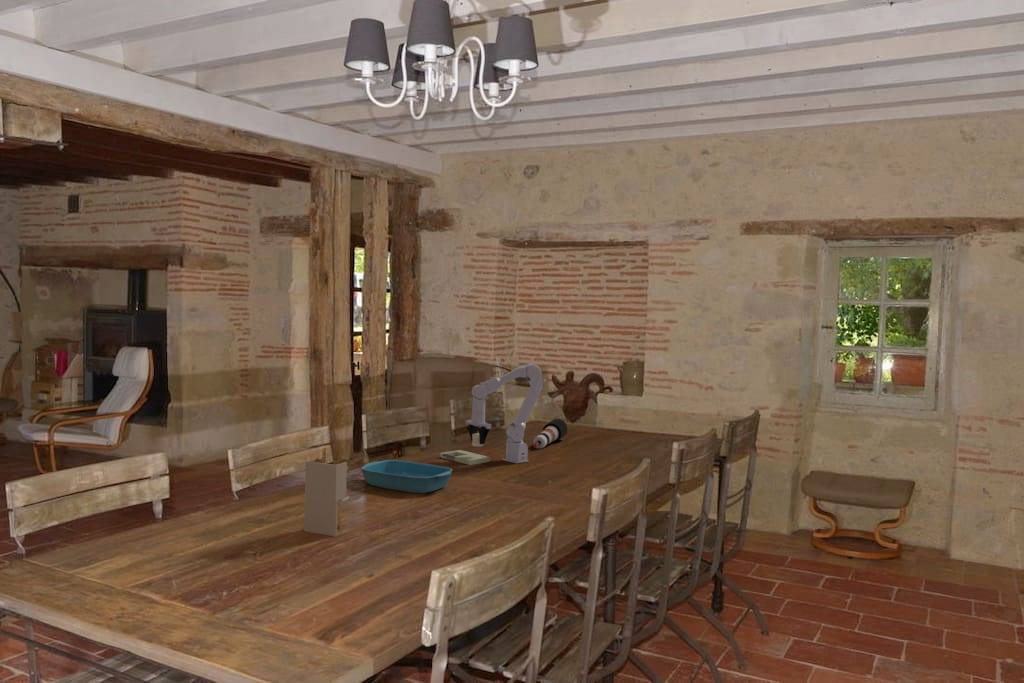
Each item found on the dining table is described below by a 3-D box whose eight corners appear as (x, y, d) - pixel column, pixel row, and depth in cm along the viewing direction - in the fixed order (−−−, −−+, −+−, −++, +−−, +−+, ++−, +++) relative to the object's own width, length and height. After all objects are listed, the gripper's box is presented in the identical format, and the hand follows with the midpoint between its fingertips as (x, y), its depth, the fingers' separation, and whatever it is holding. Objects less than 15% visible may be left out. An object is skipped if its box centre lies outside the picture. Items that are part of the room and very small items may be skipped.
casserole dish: (349, 484, 307) (349, 466, 306) (385, 474, 326) (386, 456, 326) (429, 499, 289) (430, 479, 289) (463, 487, 309) (463, 468, 308)
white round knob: (485, 445, 356) (486, 434, 356) (477, 447, 353) (477, 435, 352) (478, 444, 360) (478, 432, 359) (469, 445, 356) (470, 434, 356)
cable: (530, 458, 389) (521, 439, 389) (554, 440, 420) (545, 423, 420) (548, 451, 384) (539, 432, 385) (570, 433, 416) (562, 415, 416)
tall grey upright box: (335, 537, 240) (337, 453, 239) (304, 532, 245) (305, 449, 244) (351, 531, 248) (352, 448, 246) (319, 525, 252) (321, 445, 251)
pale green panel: (490, 461, 356) (490, 457, 356) (469, 465, 348) (469, 460, 348) (460, 454, 371) (460, 450, 370) (439, 457, 362) (440, 453, 362)
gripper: (460, 411, 358) (460, 441, 358) (483, 415, 347) (482, 446, 348) (472, 409, 363) (472, 439, 363) (495, 413, 352) (494, 444, 353)
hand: (477, 443), depth 356 cm, fingers closed on white round knob, 5 cm apart
